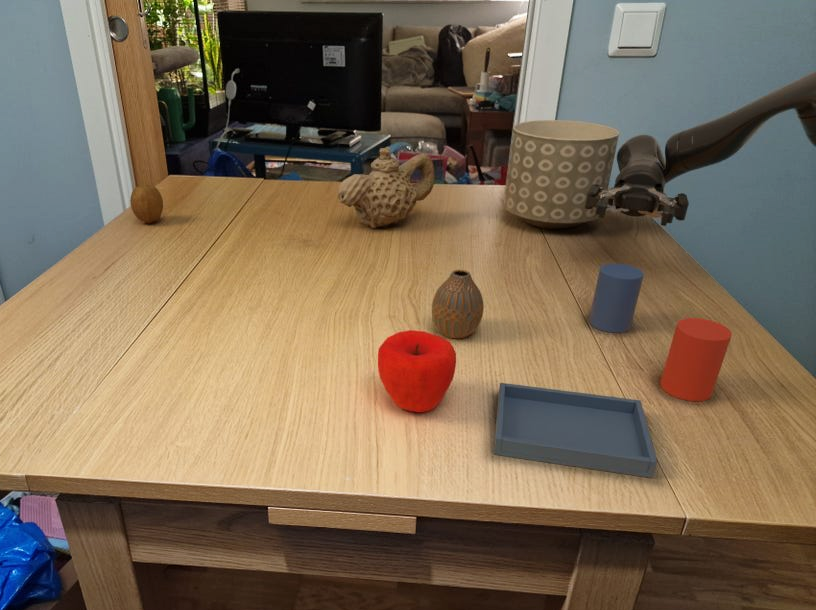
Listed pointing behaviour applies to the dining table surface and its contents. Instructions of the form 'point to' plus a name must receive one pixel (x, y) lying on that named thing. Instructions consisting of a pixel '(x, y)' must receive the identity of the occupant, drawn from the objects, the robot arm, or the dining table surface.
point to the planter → (557, 170)
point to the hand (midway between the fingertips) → (633, 215)
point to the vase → (457, 306)
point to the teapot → (387, 189)
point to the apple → (416, 369)
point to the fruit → (146, 203)
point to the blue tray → (574, 430)
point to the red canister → (695, 359)
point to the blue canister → (615, 297)
